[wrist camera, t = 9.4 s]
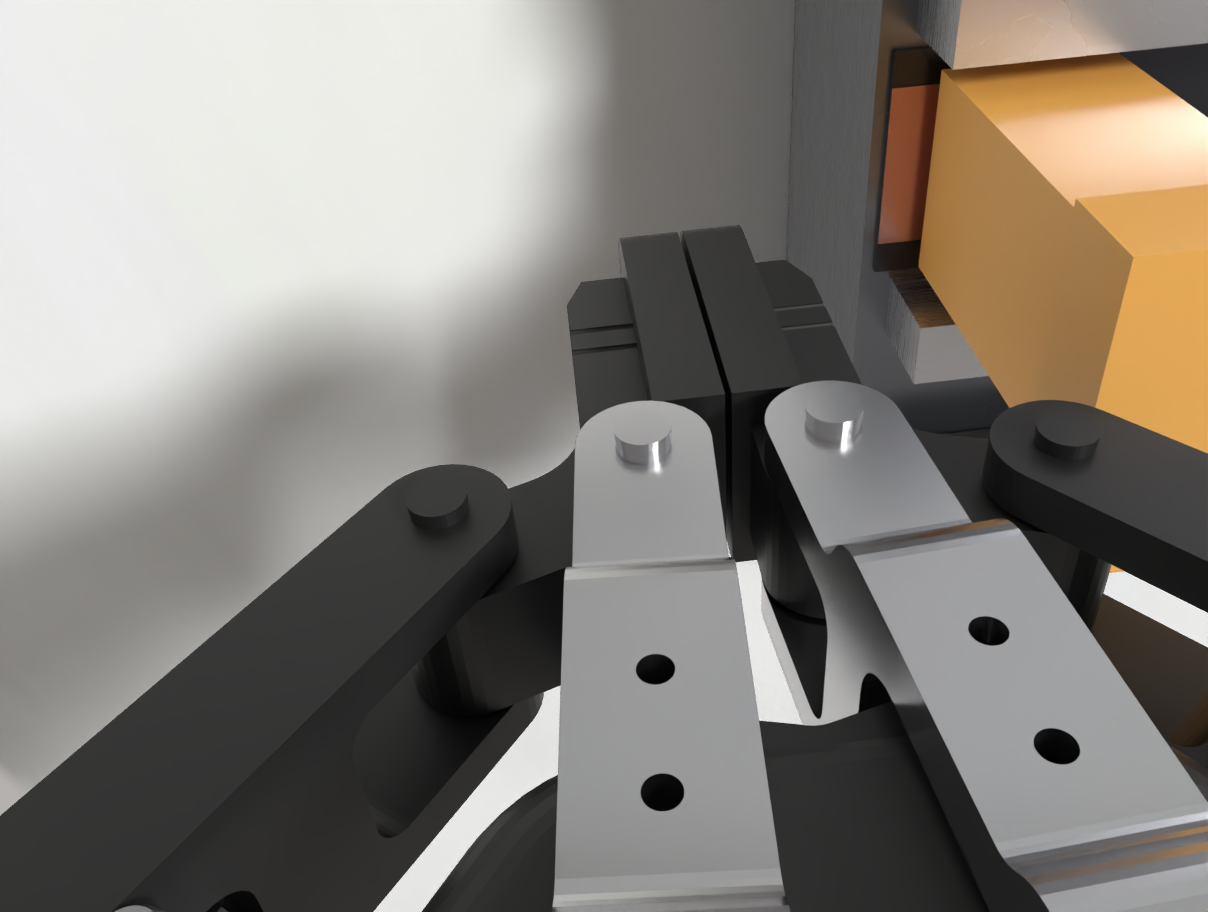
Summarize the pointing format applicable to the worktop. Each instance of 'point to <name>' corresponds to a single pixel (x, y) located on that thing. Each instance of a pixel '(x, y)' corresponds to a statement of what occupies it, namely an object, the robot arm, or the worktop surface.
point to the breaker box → (928, 162)
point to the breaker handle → (1075, 236)
